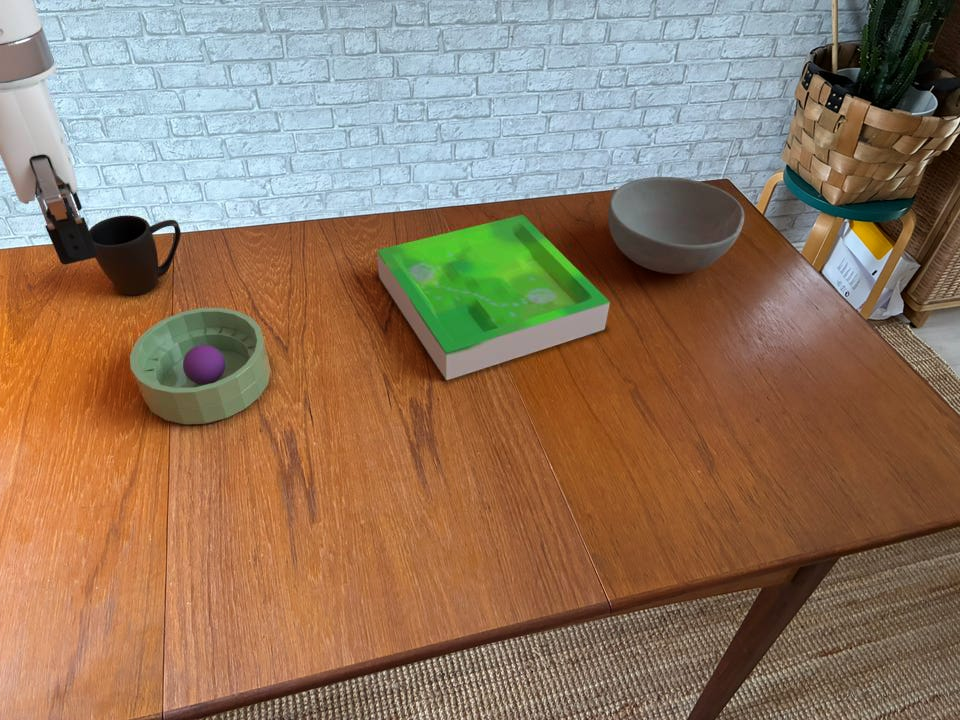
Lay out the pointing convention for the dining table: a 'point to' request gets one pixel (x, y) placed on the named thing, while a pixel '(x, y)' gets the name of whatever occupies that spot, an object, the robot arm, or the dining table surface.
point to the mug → (131, 252)
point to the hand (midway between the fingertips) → (72, 234)
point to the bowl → (673, 223)
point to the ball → (204, 364)
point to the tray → (489, 294)
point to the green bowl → (167, 382)
